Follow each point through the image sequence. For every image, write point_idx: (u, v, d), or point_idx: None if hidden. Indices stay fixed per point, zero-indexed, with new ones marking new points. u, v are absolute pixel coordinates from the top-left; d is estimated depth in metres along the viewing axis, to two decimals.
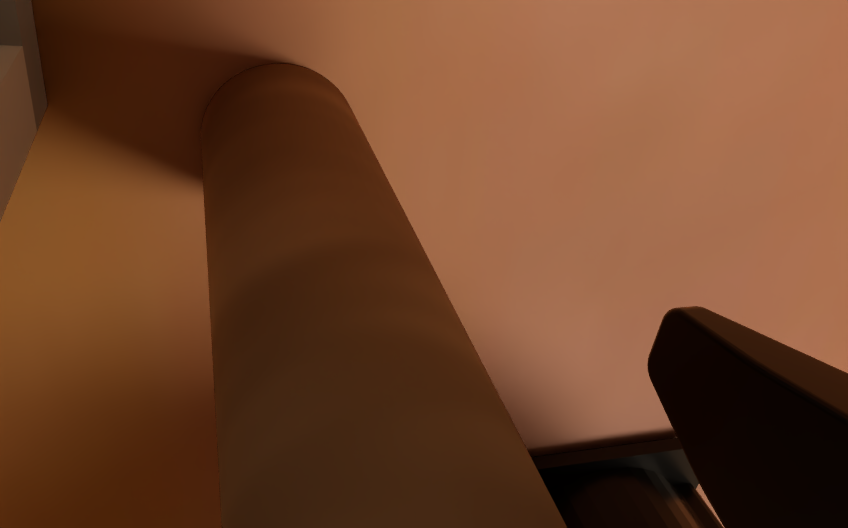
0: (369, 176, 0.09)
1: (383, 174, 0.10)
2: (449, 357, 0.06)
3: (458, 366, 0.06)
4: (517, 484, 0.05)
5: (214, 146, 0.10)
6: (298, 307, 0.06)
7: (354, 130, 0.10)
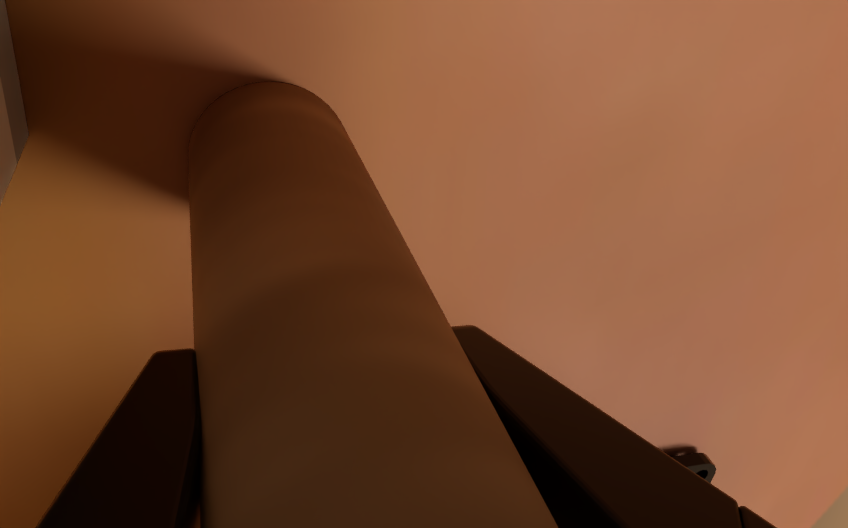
0: (361, 195, 0.08)
1: (376, 192, 0.09)
2: (449, 390, 0.05)
3: (459, 399, 0.05)
4: None
5: (199, 169, 0.10)
6: (283, 339, 0.06)
7: (345, 147, 0.10)
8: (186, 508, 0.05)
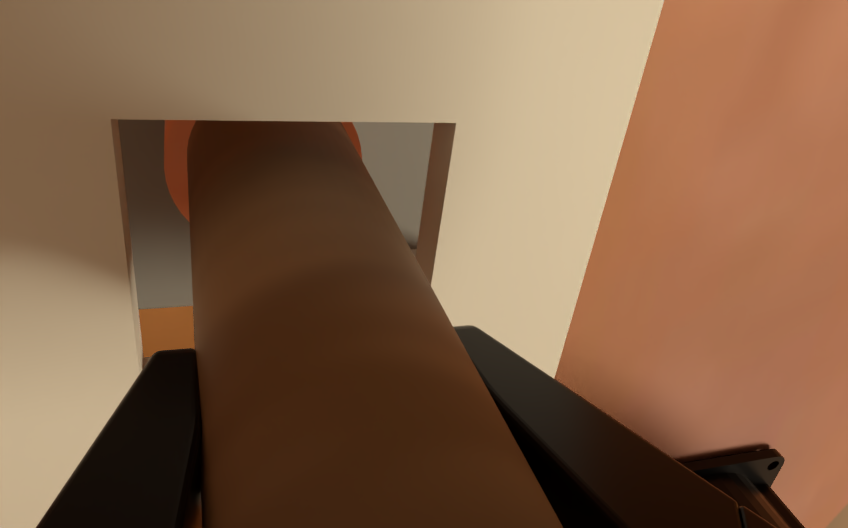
0: (362, 193, 0.08)
1: (377, 191, 0.09)
2: (451, 388, 0.05)
3: (462, 397, 0.05)
4: None
5: (199, 167, 0.10)
6: (285, 337, 0.06)
7: (345, 146, 0.10)
8: (187, 508, 0.05)
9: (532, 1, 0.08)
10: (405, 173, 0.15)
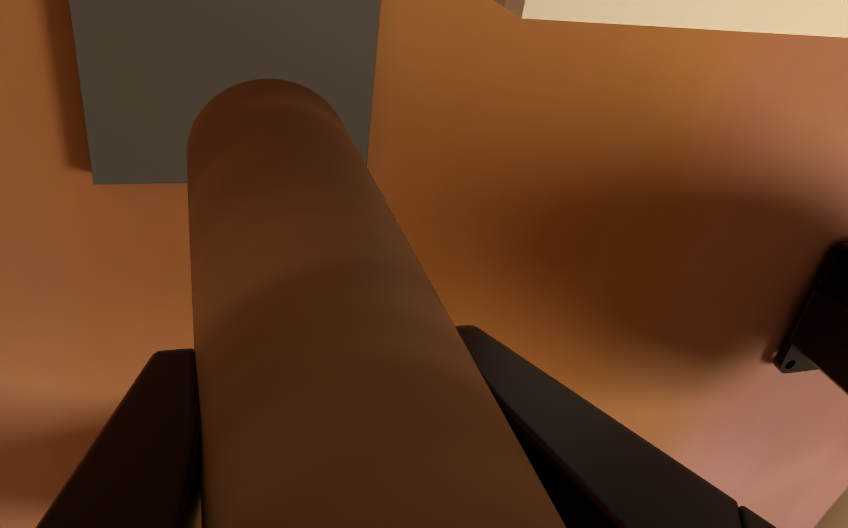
0: (361, 191, 0.08)
1: (377, 189, 0.09)
2: (453, 385, 0.05)
3: (463, 394, 0.05)
4: None
5: (198, 165, 0.09)
6: (284, 334, 0.06)
7: (345, 144, 0.10)
8: (187, 507, 0.05)
9: None
10: None
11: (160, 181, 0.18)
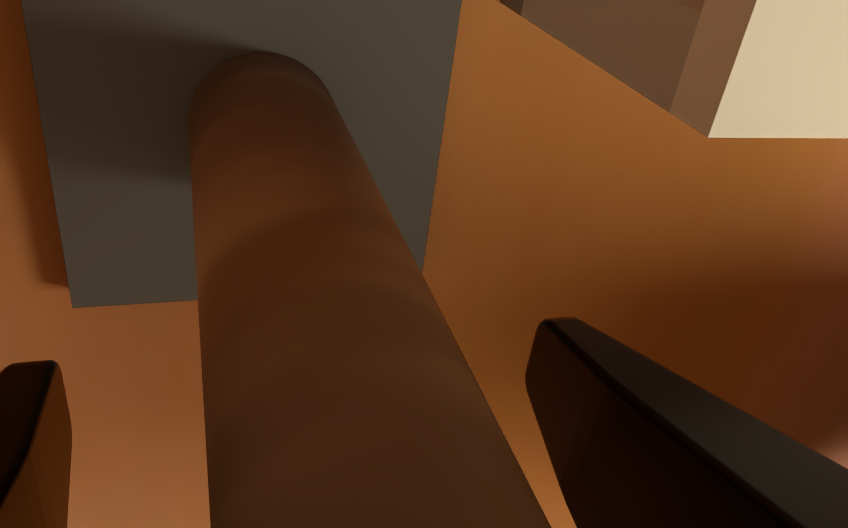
0: (343, 153, 0.09)
1: (358, 152, 0.10)
2: (408, 307, 0.07)
3: (416, 314, 0.07)
4: (464, 408, 0.06)
5: (199, 130, 0.11)
6: (273, 266, 0.07)
7: (331, 112, 0.11)
8: None
9: None
10: None
11: (160, 300, 0.14)
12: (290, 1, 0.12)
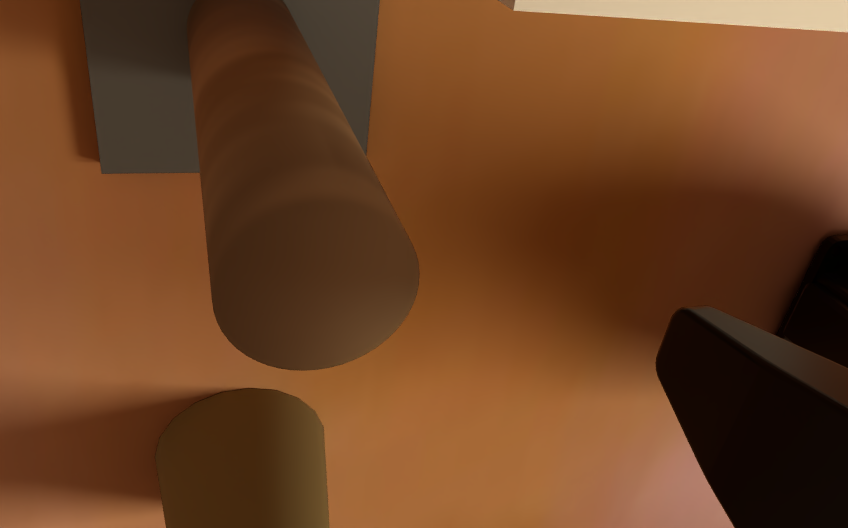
0: (290, 32, 0.14)
1: (302, 38, 0.15)
2: (315, 93, 0.11)
3: (320, 97, 0.11)
4: (337, 128, 0.10)
5: (195, 26, 0.15)
6: (239, 75, 0.12)
7: (286, 15, 0.16)
8: None
9: None
10: None
11: (166, 171, 0.19)
12: None
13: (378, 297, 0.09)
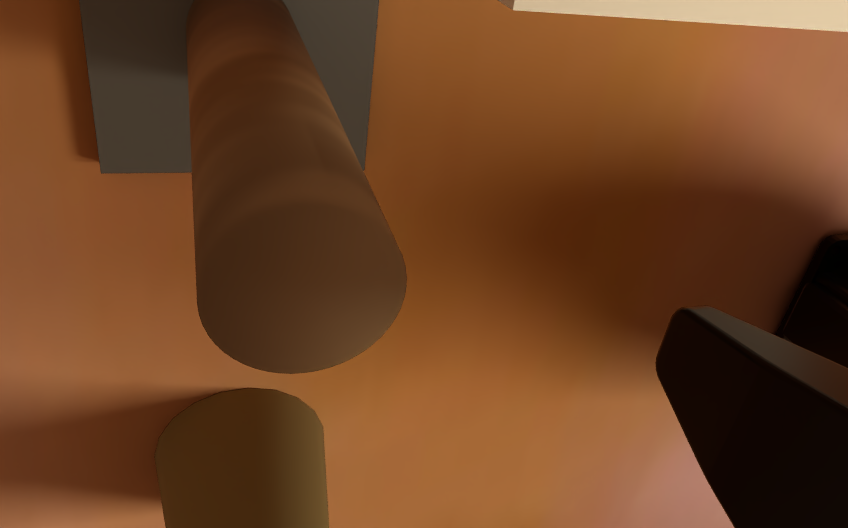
0: (286, 32, 0.14)
1: (299, 38, 0.15)
2: (308, 94, 0.11)
3: (312, 98, 0.11)
4: (327, 131, 0.10)
5: (193, 26, 0.15)
6: (231, 76, 0.12)
7: (283, 14, 0.16)
8: None
9: None
10: None
11: (165, 170, 0.19)
12: None
13: (365, 300, 0.09)
